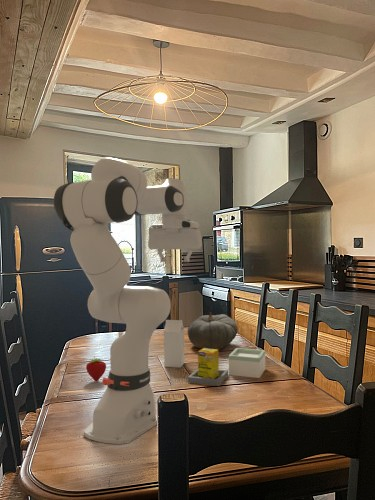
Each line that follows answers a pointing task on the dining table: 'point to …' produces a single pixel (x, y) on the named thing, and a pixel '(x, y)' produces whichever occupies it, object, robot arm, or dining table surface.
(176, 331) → the milk carton
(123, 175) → the robot arm
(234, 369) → the white box and frame
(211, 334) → the gourd
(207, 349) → the supplement box
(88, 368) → the strawberry
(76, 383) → the dining table surface
